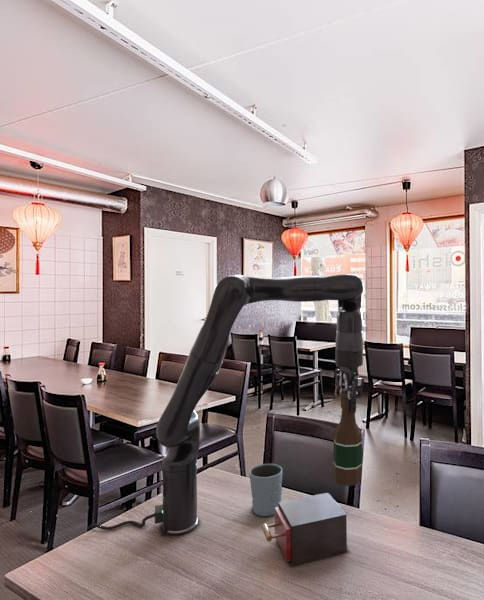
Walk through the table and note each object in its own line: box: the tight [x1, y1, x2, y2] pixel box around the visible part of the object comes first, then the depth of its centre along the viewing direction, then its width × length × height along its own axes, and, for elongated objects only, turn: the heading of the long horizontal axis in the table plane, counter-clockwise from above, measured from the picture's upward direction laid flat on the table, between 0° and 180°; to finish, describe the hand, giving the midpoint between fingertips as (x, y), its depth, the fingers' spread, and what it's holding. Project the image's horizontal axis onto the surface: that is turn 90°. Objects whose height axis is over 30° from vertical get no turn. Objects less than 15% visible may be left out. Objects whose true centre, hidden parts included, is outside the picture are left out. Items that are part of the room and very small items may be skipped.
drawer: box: [261, 507, 291, 562], centre depth 107 cm, size 18×11×8 cm, turn 111°
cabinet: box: [278, 492, 348, 566], centre depth 109 cm, size 15×13×10 cm
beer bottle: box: [332, 392, 363, 487], centre depth 113 cm, size 8×8×24 cm
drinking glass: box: [249, 463, 283, 517], centre depth 127 cm, size 10×10×12 cm
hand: (348, 410), depth 112 cm, fingers closed on beer bottle, 3 cm apart
